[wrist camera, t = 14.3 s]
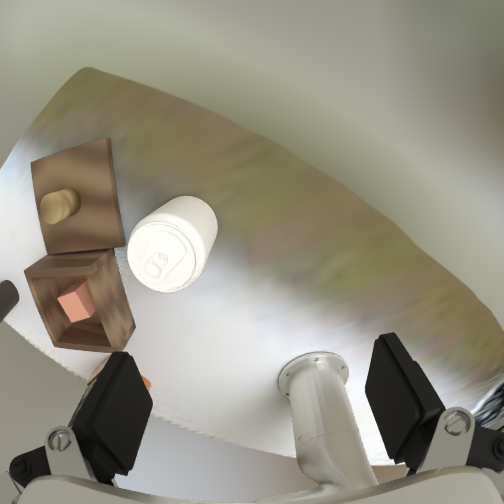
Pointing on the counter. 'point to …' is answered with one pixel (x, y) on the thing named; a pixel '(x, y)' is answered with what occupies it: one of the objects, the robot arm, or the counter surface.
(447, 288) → the counter surface
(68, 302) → the block
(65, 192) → the lid
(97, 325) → the box
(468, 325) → the counter surface
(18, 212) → the counter surface
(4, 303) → the coffee cup
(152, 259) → the beverage can
